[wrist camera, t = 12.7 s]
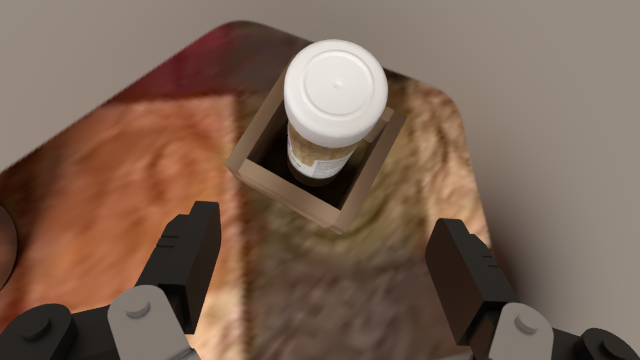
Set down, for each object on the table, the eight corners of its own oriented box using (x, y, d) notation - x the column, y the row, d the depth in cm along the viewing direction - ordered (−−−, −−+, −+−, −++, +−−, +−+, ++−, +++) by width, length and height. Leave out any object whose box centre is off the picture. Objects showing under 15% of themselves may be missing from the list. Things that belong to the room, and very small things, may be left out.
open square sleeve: (236, 178, 26) (224, 163, 22) (293, 87, 28) (293, 54, 23) (336, 234, 26) (347, 232, 21) (386, 139, 28) (407, 117, 23)
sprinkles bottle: (281, 140, 27) (271, 45, 14) (334, 128, 28) (373, 25, 15) (294, 194, 27) (298, 146, 13) (349, 181, 27) (404, 121, 14)
